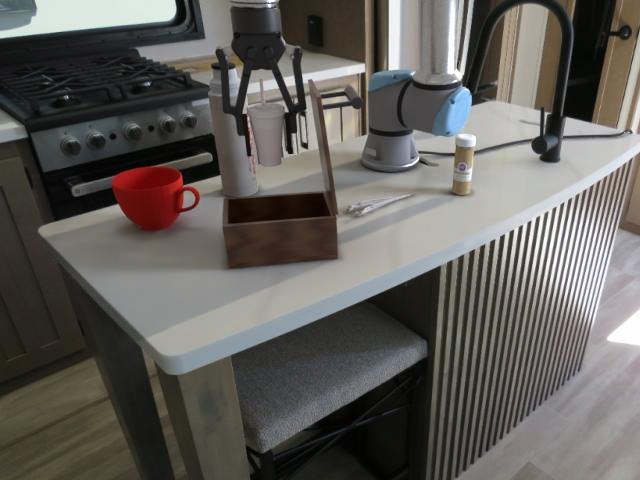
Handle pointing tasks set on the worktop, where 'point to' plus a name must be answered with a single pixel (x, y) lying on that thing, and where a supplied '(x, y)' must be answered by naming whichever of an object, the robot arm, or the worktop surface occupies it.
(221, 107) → the thermos bottle
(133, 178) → the ceramic cup
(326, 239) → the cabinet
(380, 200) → the tweezers
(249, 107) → the smoothie
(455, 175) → the sprinkles bottle
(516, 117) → the worktop surface
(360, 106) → the wooden panel
